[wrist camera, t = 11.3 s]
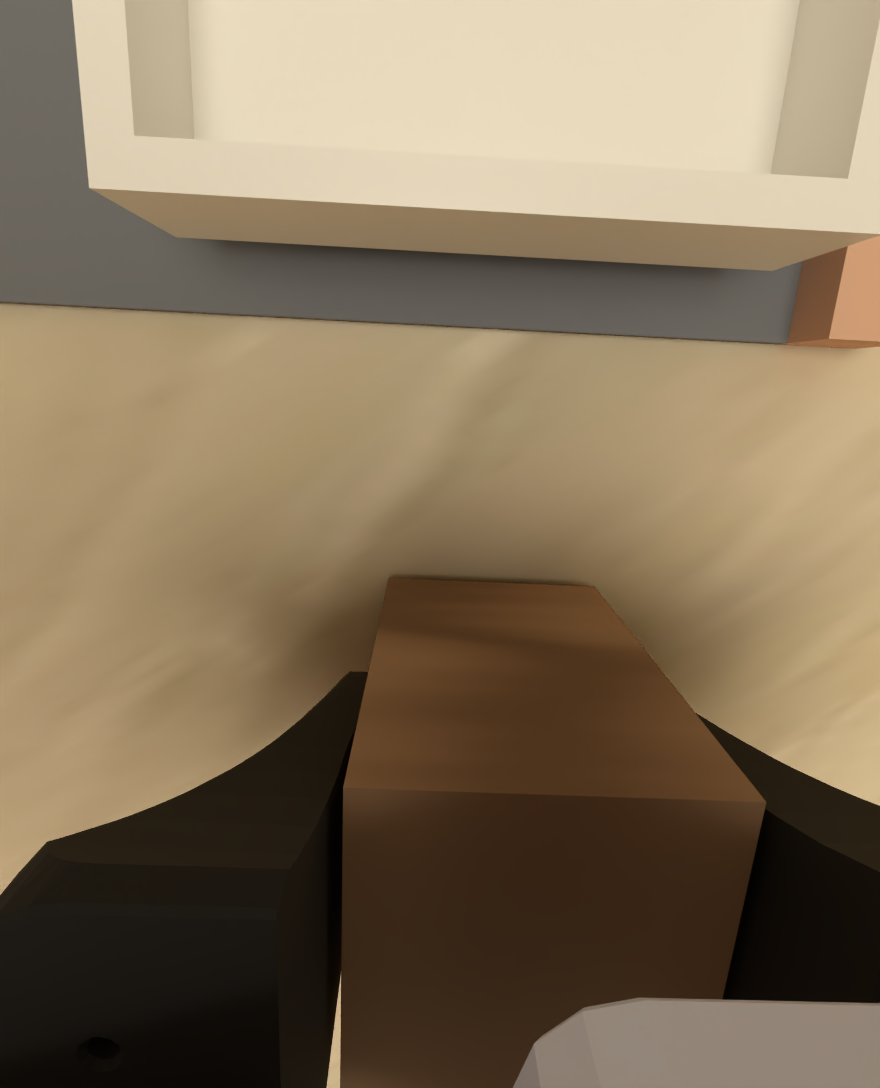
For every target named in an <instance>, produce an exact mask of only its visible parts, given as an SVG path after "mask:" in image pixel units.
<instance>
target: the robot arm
mask: <svg viewBox="0 0 880 1088" xmlns="http://www.w3.org/2000/svg"><path fill="white" fill-rule="evenodd" d="M367 676H368V672H353V671H350V672H349V673H348V674H347V675H346V676H344V677H343V678H342V679H341V680H340V681H339V682H338V684H337V685H336V686H335V687H334V688H333V689H332V690H331V691H330V692H329V693H328V694H327V695H326V696H325V697H324V698H323V699H322V700H321V701H320V702H319V703H318V704H317V705H316V706H314V707H313V708H312V709H311V710H310V711H309V712H308V713H307V714H306V715H305V716H304V717H303V718H302V719H300V720H299V721H298V722H297V723H296V724H295V725H293V726H292V727H291V728H290V729H289V730H287V731H286V732H285V733H284V734H282V735H281V736H280V737H279V738H277V739H276V740H275V741H273V742H272V743H271V744H269V745H268V746H266V747H265V748H264V749H262V750H261V751H259V752H258V753H256V754H255V755H253V756H251V757H250V758H248V759H247V760H245V761H244V762H242V763H240V764H239V765H237V766H235V767H234V768H232V769H230V770H228V771H227V772H225V773H223V774H221V775H219V776H217V777H215V778H213V779H211V780H209V781H207V782H206V783H204V784H202V785H200V786H198V787H196V788H194V789H192V790H190V791H188V792H186V793H184V794H182V795H179V796H177V797H175V798H173V799H170V800H168V801H166V802H163V803H161V804H159V805H156V806H154V807H151V808H148V809H146V810H143V811H141V812H138V813H136V814H133V815H130V816H128V817H125V818H122V819H119V820H117V821H113V822H110V823H107V824H104V825H101V826H98V827H94V828H91V829H88V830H85V831H82V832H79V833H75V834H72V835H69V836H66V837H63V838H59V839H55V840H52V841H48V842H47V843H46V844H45V845H44V846H43V847H42V848H41V849H40V850H39V851H38V852H37V853H36V854H35V856H34V857H33V858H32V859H31V860H30V861H29V862H28V863H27V864H26V865H25V867H24V868H23V869H22V870H21V871H20V872H19V873H18V874H17V876H16V877H15V878H14V879H13V880H12V882H11V883H10V884H9V885H8V887H7V888H6V889H5V890H4V891H3V893H2V894H1V895H0V1088H326V1086H327V1078H328V1070H329V1062H330V1054H331V1046H332V1038H333V1030H334V1022H335V1014H336V1006H337V998H338V991H339V983H340V975H341V957H342V851H343V786H344V781H345V777H346V772H347V768H348V763H349V758H350V754H351V749H352V745H353V740H354V736H355V731H356V726H357V722H358V717H359V713H360V708H361V703H362V699H363V694H364V690H365V685H366V681H367ZM696 715H697V716H698V717H699V718H700V720H701V721H702V722H703V723H704V725H705V726H706V727H707V728H708V730H709V731H710V732H711V733H712V735H713V736H714V737H715V738H716V740H717V741H718V742H719V743H720V745H721V746H722V747H723V748H724V750H725V751H726V752H727V753H728V755H729V756H730V757H731V758H732V760H733V761H734V762H735V763H736V765H737V766H738V767H739V768H740V770H741V771H742V772H743V773H744V775H745V776H746V777H747V778H748V780H749V781H750V782H751V783H752V785H753V786H754V787H755V788H756V790H757V791H758V792H759V793H760V795H761V796H762V797H763V799H764V800H765V801H766V806H765V811H764V815H763V820H762V824H761V829H760V833H759V838H758V842H757V847H756V851H755V856H754V860H753V865H752V869H751V873H750V878H749V882H748V887H747V891H746V896H745V900H744V905H743V909H742V914H741V918H740V923H739V927H738V932H737V936H736V941H735V945H734V950H733V954H732V959H731V963H730V968H729V972H728V976H727V981H726V985H725V990H724V994H723V999H722V1000H718V999H676V998H634V999H628V1000H623V1001H617V1002H612V1003H606V1004H600V1005H595V1006H589V1007H584V1008H582V1009H581V1010H579V1011H578V1012H577V1013H575V1014H574V1015H572V1016H571V1017H569V1018H568V1019H566V1020H565V1021H563V1022H562V1023H560V1024H559V1025H557V1026H556V1027H554V1028H553V1029H551V1030H550V1031H548V1032H547V1033H545V1034H544V1035H542V1036H541V1037H540V1038H539V1039H538V1040H537V1041H536V1042H535V1043H534V1045H533V1047H532V1049H531V1051H530V1053H529V1055H528V1057H527V1059H526V1061H525V1063H524V1065H523V1068H522V1070H521V1072H520V1074H519V1076H518V1078H517V1080H516V1082H515V1084H514V1086H513V1088H880V806H879V805H876V804H873V803H871V802H868V801H866V800H863V799H860V798H858V797H856V796H853V795H851V794H848V793H846V792H844V791H841V790H839V789H837V788H834V787H832V786H830V785H828V784H826V783H823V782H821V781H819V780H817V779H815V778H813V777H810V776H808V775H806V774H804V773H802V772H800V771H798V770H795V769H793V768H791V767H789V766H787V765H786V764H784V763H782V762H780V761H778V760H776V759H774V758H772V757H770V756H768V755H767V754H765V753H763V752H761V751H759V750H757V749H756V748H754V747H752V746H750V745H748V744H747V743H745V742H743V741H741V740H740V739H738V738H736V737H734V736H733V735H731V734H729V733H728V732H726V731H724V730H723V729H721V728H719V727H718V726H716V725H714V724H713V723H711V722H709V721H708V720H706V719H704V718H703V717H701V716H700V715H698V714H696Z"/></svg>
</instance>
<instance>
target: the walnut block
mask: <svg viewBox="0 0 880 1088" xmlns="http://www.w3.org/2000/svg"><path fill="white" fill-rule="evenodd" d="M765 806H766V801H765V800H764V799H763V797H762V796H761V795H760V793H759V792H758V791H757V790H756V788H755V787H754V786H753V785H752V783H751V782H750V781H749V780H748V778H747V777H746V776H745V775H744V773H743V772H742V771H741V770H740V768H739V767H738V766H737V765H736V763H735V762H734V761H733V760H732V758H731V757H730V756H729V755H728V753H727V752H726V751H725V750H724V748H723V747H722V746H721V745H720V743H719V742H718V741H717V740H716V738H715V737H714V736H713V735H712V733H711V732H710V731H709V730H708V728H707V727H706V726H705V725H704V723H703V722H702V721H701V720H700V718H699V717H698V716H697V715H696V713H695V712H694V711H693V710H692V708H691V707H690V706H689V705H688V703H687V702H686V701H685V700H684V698H683V697H682V696H681V695H680V693H679V692H678V691H677V690H676V688H675V687H674V686H673V685H672V683H671V682H670V681H669V680H668V678H667V677H666V676H665V674H664V673H663V672H662V671H661V669H660V668H659V667H658V666H657V664H656V663H655V662H654V661H653V659H652V658H651V657H650V656H649V654H648V653H647V652H646V651H645V649H644V648H643V647H642V646H641V644H640V643H639V642H638V641H637V639H636V638H635V637H634V636H633V634H632V633H631V632H630V631H629V629H628V628H627V627H626V626H625V624H624V623H623V622H622V621H621V619H620V618H619V617H618V616H617V614H616V613H615V612H614V611H613V609H612V608H611V607H610V606H609V604H608V603H607V602H606V601H605V599H604V598H603V597H602V596H601V594H600V593H599V592H598V591H597V589H596V588H595V587H591V586H568V585H545V584H521V583H498V582H475V581H452V580H429V579H405V578H389V580H388V584H387V589H386V594H385V598H384V603H383V607H382V612H381V616H380V621H379V626H378V630H377V635H376V639H375V644H374V649H373V653H372V658H371V662H370V667H369V671H368V676H367V681H366V685H365V690H364V694H363V699H362V703H361V708H360V713H359V717H358V722H357V726H356V731H355V736H354V740H353V745H352V749H351V754H350V758H349V763H348V768H347V772H346V777H345V781H344V786H343V851H342V957H341V1064H340V1088H513V1086H514V1084H515V1082H516V1080H517V1078H518V1076H519V1074H520V1072H521V1070H522V1068H523V1065H524V1063H525V1061H526V1059H527V1057H528V1055H529V1053H530V1051H531V1049H532V1047H533V1045H534V1043H535V1042H536V1041H537V1040H538V1039H539V1038H540V1037H541V1036H542V1035H544V1034H545V1033H547V1032H548V1031H550V1030H551V1029H553V1028H554V1027H556V1026H557V1025H559V1024H560V1023H562V1022H563V1021H565V1020H566V1019H568V1018H569V1017H571V1016H572V1015H574V1014H575V1013H577V1012H578V1011H579V1010H581V1009H582V1008H584V1007H589V1006H595V1005H600V1004H606V1003H612V1002H617V1001H623V1000H628V999H634V998H676V999H718V1000H722V999H723V994H724V990H725V985H726V981H727V976H728V972H729V968H730V963H731V959H732V954H733V950H734V945H735V941H736V936H737V932H738V927H739V923H740V918H741V914H742V909H743V905H744V900H745V896H746V891H747V887H748V882H749V878H750V873H751V869H752V865H753V860H754V856H755V851H756V847H757V842H758V838H759V833H760V829H761V824H762V820H763V815H764V811H765Z"/></svg>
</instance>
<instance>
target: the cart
mask: <svg viewBox="0 0 880 1088" xmlns="http://www.w3.org/2000/svg"><path fill="white" fill-rule="evenodd" d="M72 6H73V17H74V28H75V39H76V50H77V61H78V72H79V83H80V94H81V105H82V116H83V127H84V138H85V149H86V159H87V170H88V181H89V188H90V189H92V190H93V191H95V192H97V193H99V194H100V195H102V196H104V197H106V198H108V199H109V200H111V201H113V202H115V203H116V204H118V205H120V206H122V207H123V208H125V209H127V210H129V211H130V212H132V213H134V214H136V215H138V216H139V217H141V218H143V219H145V220H146V221H148V222H150V223H152V224H153V225H155V226H157V227H159V228H160V229H162V230H164V231H166V232H168V233H169V234H171V235H173V236H175V237H179V238H197V239H214V240H232V241H250V242H268V243H285V244H303V245H321V246H338V247H356V248H374V249H391V250H409V251H427V252H445V253H462V254H480V255H498V256H515V257H533V258H551V259H569V260H586V261H604V262H622V263H639V264H657V265H675V266H693V267H710V268H728V269H746V270H763V271H774V270H777V269H780V268H783V267H786V266H789V265H792V264H795V263H798V262H801V261H804V260H807V259H810V258H813V257H816V256H819V255H822V254H825V253H828V252H831V251H834V250H837V249H840V248H843V247H846V246H849V245H852V244H856V243H859V242H862V241H865V240H868V239H871V238H874V237H877V236H880V0H72Z"/></svg>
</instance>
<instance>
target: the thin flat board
mask: <svg viewBox="0 0 880 1088" xmlns="http://www.w3.org/2000/svg"><path fill="white" fill-rule="evenodd" d="M0 303H16V304H35V305H53V306H72V307H91V308H109V309H128V310H147V311H165V312H184V313H203V314H222V315H240V316H259V317H278V318H296V319H315V320H334V321H352V322H371V323H390V324H409V325H427V326H446V327H465V328H483V329H502V330H521V331H539V332H558V333H577V334H596V335H614V336H633V337H652V338H670V339H689V340H708V341H726V342H745V343H764V344H782V345H801V346H820V347H839V348H867V347H879V346H880V236H877V237H874V238H871V239H868V240H865V241H862V242H859V243H856V244H852V245H849V246H846V247H843V248H840V249H837V250H834V251H831V252H828V253H825V254H822V255H819V256H816V257H813V258H810V259H807V260H804V261H801V262H798V263H795V264H792V265H789V266H786V267H783V268H780V269H777V270H774V271H763V270H746V269H728V268H710V267H693V266H675V265H657V264H639V263H622V262H604V261H586V260H569V259H551V258H533V257H515V256H498V255H480V254H462V253H445V252H427V251H409V250H391V249H374V248H356V247H338V246H321V245H303V244H285V243H268V242H250V241H232V240H214V239H197V238H179V237H175V236H173V235H171V234H169V233H168V232H166V231H164V230H162V229H160V228H159V227H157V226H155V225H153V224H152V223H150V222H148V221H146V220H145V219H143V218H141V217H139V216H138V215H136V214H134V213H132V212H130V211H129V210H127V209H125V208H123V207H122V206H120V205H118V204H116V203H115V202H113V201H111V200H109V199H108V198H106V197H104V196H102V195H100V194H99V193H97V192H95V191H93V190H92V189H90V188H89V181H88V170H87V159H86V149H85V138H84V127H83V116H82V105H81V94H80V83H79V72H78V61H77V50H76V39H75V28H74V17H73V6H72V0H0Z"/></svg>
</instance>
